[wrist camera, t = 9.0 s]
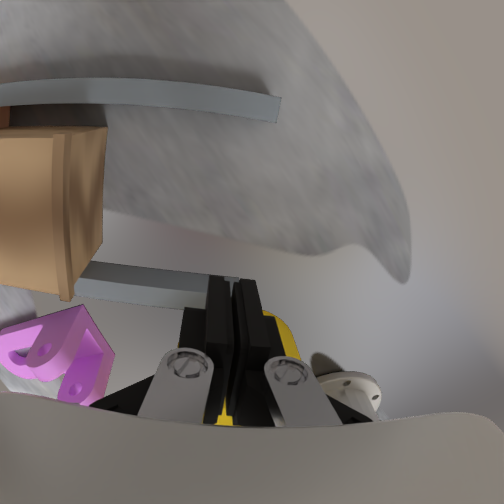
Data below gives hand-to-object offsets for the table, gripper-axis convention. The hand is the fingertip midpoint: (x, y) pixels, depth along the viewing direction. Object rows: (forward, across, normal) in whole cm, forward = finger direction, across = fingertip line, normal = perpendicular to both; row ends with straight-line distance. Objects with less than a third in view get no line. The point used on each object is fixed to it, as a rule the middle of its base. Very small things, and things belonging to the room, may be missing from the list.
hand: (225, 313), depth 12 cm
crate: (+10, +12, -2) cm, 16 cm away
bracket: (+11, +15, +13) cm, 23 cm away
